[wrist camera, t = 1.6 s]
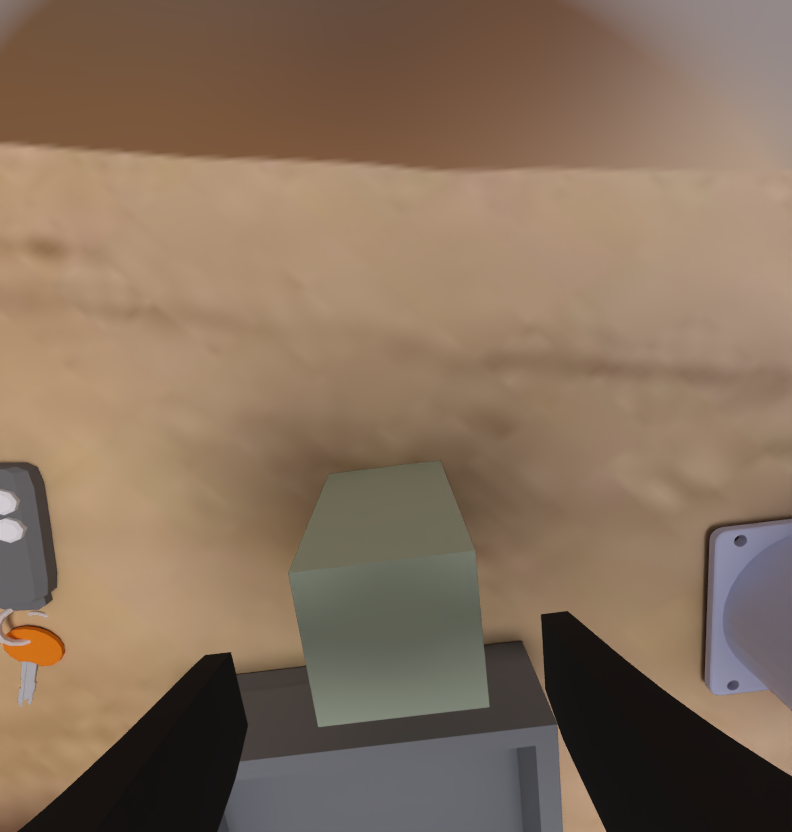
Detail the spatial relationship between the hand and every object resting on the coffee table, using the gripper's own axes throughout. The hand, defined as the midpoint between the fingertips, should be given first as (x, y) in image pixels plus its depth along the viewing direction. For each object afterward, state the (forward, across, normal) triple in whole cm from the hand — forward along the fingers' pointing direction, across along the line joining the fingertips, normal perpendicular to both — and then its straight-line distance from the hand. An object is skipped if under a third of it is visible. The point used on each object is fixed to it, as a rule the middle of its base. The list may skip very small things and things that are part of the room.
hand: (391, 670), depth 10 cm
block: (+8, 0, 0) cm, 8 cm away
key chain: (+9, +16, +2) cm, 18 cm away
